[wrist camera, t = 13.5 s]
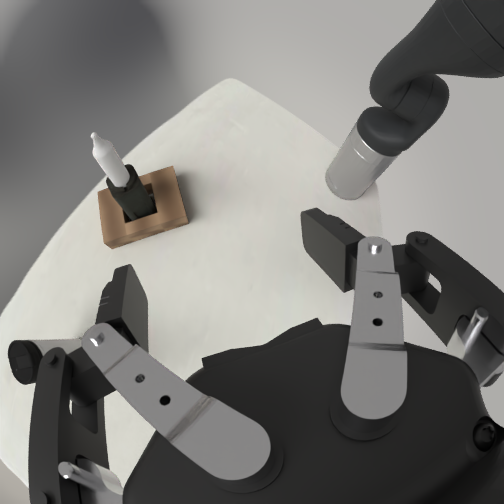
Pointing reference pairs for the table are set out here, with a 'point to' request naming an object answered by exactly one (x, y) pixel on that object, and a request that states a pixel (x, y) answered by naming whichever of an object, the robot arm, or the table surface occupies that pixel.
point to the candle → (122, 181)
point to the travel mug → (34, 356)
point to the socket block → (167, 218)
